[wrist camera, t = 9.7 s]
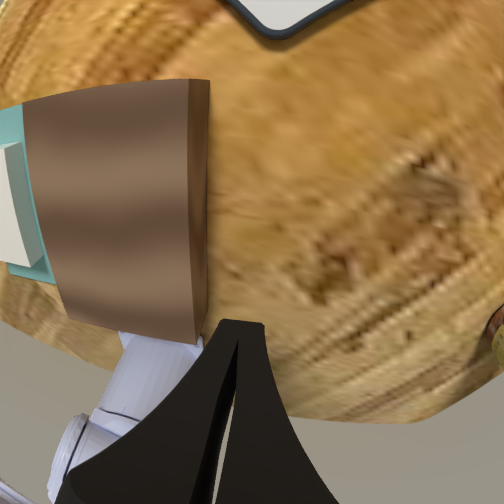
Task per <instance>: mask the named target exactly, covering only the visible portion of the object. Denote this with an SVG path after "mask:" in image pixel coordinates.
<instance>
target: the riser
mask: <svg viewBox="0 0 504 504" xmlns="http://www.w3.org/2000/svg"><path fill="white" fill-rule="evenodd" d="M208 103H209V80H202V79H169V80H153V81H141V82H131V83H122V84H114V85H106V86H99V87H93V88H87V89H81V90H76V91H70V92H65V93H61V94H56V95H51V96H47V97H43V98H39V99H35V100H31V101H27V102H23V103H22V112H23V127H24V138H25V147H26V156H27V163H28V170H29V176H30V182H31V188H32V194H33V199H34V204H35V208H36V213H37V218H38V222H39V226H40V230H41V234H42V238H43V242H44V245H45V249H46V253H47V256H48V260H49V263H50V266H51V269H52V273H53V276H54V279H55V282H56V285H57V288H58V291H59V293H60V296H61V299H62V302H63V305H64V307H65V310H66V312H67V315H68V318H69V319H72V320H75V321H79V322H83V323H87V324H91V325H95V326H100V327H104V328H108V329H112V330H117V331H122V332H126V333H131V334H136V335H141V336H146V337H151V338H156V339H162V340H167V341H173V342H179V343H185V344H191V345H197V342H198V338H199V335H200V332H201V329H202V325H203V322H204V319H205V316H206V313H207V309H208V284H207V223H206V193H207V132H208Z"/></svg>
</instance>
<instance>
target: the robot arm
mask: <svg viewBox="0 0 504 504" xmlns="http://www.w3.org/2000/svg"><path fill="white" fill-rule="evenodd" d="M264 327H265V326H264V325H263V324H262V323H258V322H249V321H240V320H231V319H222V320H220V322H219V324H218V326H217V328H216V330H215V332H214V334H213V335H212V337H211V339H210V340H209V342H208V343H207V345H206V347H205V348H204V346H203V338H202V337H201V336H200V335H199V338H198V342H197V345H191V344H185V343H179V342H173V341H167V340H162V339H156V338H151V337H146V336H141V335H136V334H131V333H126V332H122V331H118V333H119V336H120V339H121V342H122V346H123V349H124V352H123V354H122V356H121V358H120V360H119V362H118V364H117V366H116V368H115V370H114V372H113V374H112V377H111V379H110V381H109V383H108V385H107V387H106V389H105V391H104V394H103V396H102V398H101V400H100V402H99V404H98V406H97V408H95V409H94V411H93V413H92V416H91V418H90V420H88V418H89V416H88V415H86V414H84V413H82V414H80V415H76V416H74V417H73V418H72V419H71V421H70V423H69V425H68V427H67V428H66V430H65V433H64V435H63V437H62V439H61V441H60V444H59V447H58V449H57V451H56V454H55V457H54V460H53V463H52V467H51V471H52V472H51V475H50V478H49V481H48V485H47V489H48V490H49V492H48V497H49V499H50V500H51V502H52V503H53V504H212V499H213V492H214V485H215V479H216V473H217V466H218V459H219V454H220V449H221V444H222V440H223V436H224V432H225V429H226V425H227V421H228V417H229V413H230V409H231V406H232V402H233V398H234V394H235V390H236V394H235V404H234V410H233V415H232V421H231V426H230V432H229V438H228V442H227V448H226V453H225V458H224V463H223V468H222V473H221V479H220V483H219V488H218V493H217V498H216V502H215V504H339V503H338V502H337V500H336V499H335V498H334V496H333V495H332V494H331V492H330V491H329V489H328V488H327V486H326V485H325V484H324V482H323V481H322V479H321V478H320V476H319V475H318V473H317V471H316V470H315V468H314V466H313V465H312V463H311V461H310V459H309V458H308V456H307V454H306V453H305V451H304V449H303V447H302V446H301V444H300V442H299V440H298V438H297V436H296V434H295V432H294V429H293V427H292V425H291V423H290V421H289V418H288V416H287V414H286V411H285V409H284V406H283V404H282V401H281V398H280V395H279V393H278V390H277V387H276V384H275V380H274V377H273V373H272V370H271V366H270V362H269V358H268V353H267V348H266V342H265V332H264ZM0 504H37V503H35V502H33V501H32V500H30V499H28V498H27V497H25V496H24V495H22V494H21V493H19V492H18V491H16V490H15V489H13V488H12V487H10V486H9V485H7V484H6V483H5V482H4V480H2V479H1V478H0Z"/></svg>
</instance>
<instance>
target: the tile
mask: <svg viewBox="0 0 504 504" xmlns="http://www.w3.org/2000/svg"><path fill="white" fill-rule="evenodd" d="M43 255H44V254H43V251H42V247H41V244H40V240H39V236H38V232H37V228H36V224H35V219H34V215H33V210H32V206H31V201H30V196H29V190H28V184H27V178H26V172H25V165H24V158H23V149H22V141H21V142H14V143H8V144H3V145H0V261H4V262H9V263H13V264H17V265H22V266H26V267H32V266H33V265H34V264H35V263H36V262H37V261H38V260H39V259H40V258H41V257H42V256H43Z"/></svg>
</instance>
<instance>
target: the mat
mask: <svg viewBox="0 0 504 504" xmlns="http://www.w3.org/2000/svg"><path fill="white" fill-rule="evenodd" d="M21 141H22V149H23V158H24V165H25V172H26V178H27V184H28V190H29V196H30V201H31V206H32V210H33V215H34V219H35V224H36V228H37V232H38V236H39V240H40V244H41V247H42V251H43V254H44V255H43V256H42V257H41V258H40V259H39V260H38V261H37V262H36V263H35V264H34V265H33V266H32V267H26V266H22V265H17V264H13V263H9V262H6V263H7V266H8V269H9V272H10V274H13V275H17V276H22V277H26V278H30V279H34V280H38V281H43V282H47V283H52V284H56V282H55V279H54V276H53V273H52V269H51V266H50V263H49V260H48V256H47V253H46V249H45V245H44V242H43V238H42V234H41V230H40V226H39V222H38V218H37V213H36V208H35V204H34V199H33V194H32V188H31V182H30V176H29V170H28V163H27V156H26V147H25V138H24V127H23V112H22V104H20V105H17V106H13V107H10V108H7V109H3V110H0V145H3V144H8V143H14V142H21Z"/></svg>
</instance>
